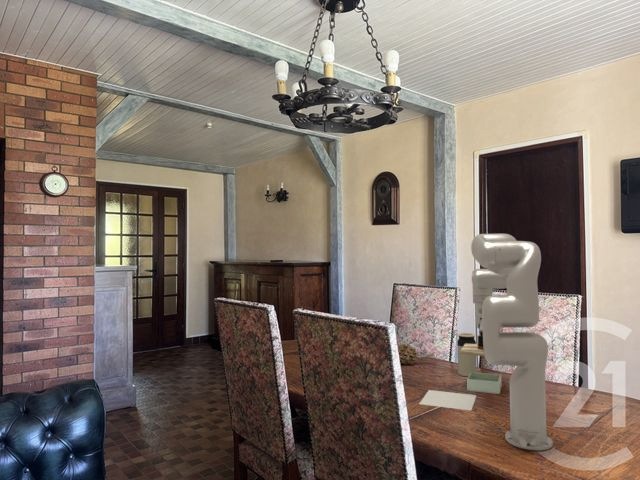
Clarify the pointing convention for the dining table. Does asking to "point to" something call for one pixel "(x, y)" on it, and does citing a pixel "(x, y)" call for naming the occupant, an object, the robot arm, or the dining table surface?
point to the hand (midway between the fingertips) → (483, 344)
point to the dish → (484, 382)
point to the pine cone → (409, 354)
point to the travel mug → (466, 361)
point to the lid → (472, 349)
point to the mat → (448, 400)
